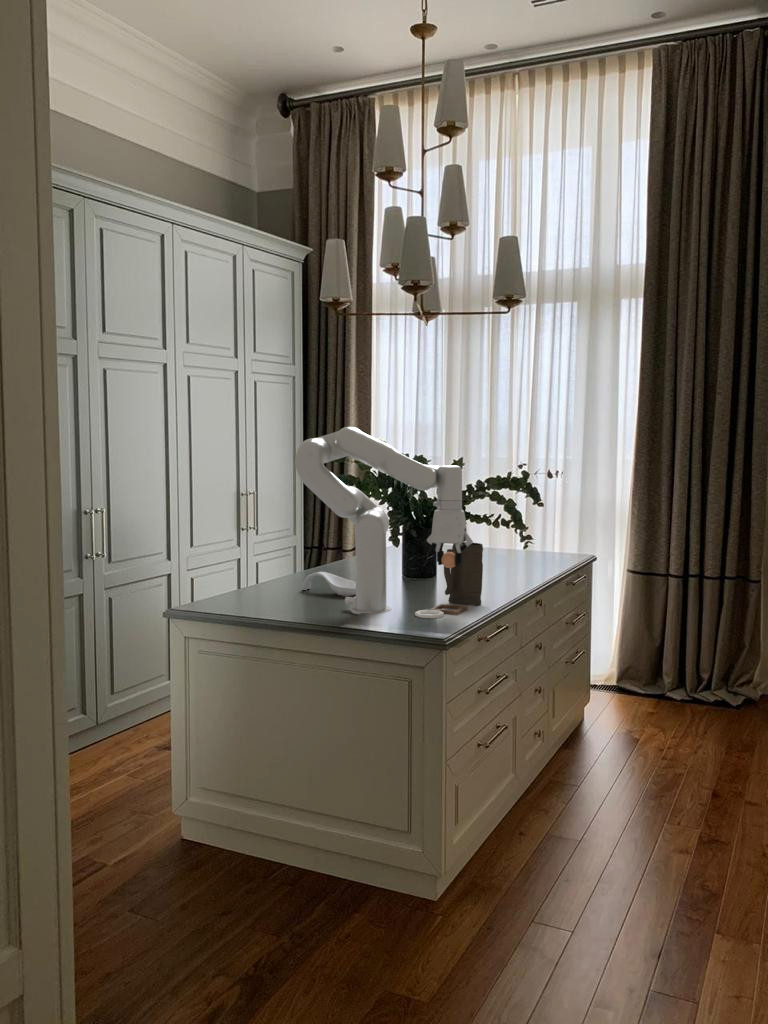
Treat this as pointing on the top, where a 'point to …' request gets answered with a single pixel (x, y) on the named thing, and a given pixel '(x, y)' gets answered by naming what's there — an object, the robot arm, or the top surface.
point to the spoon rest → (333, 583)
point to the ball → (448, 559)
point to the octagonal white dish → (429, 613)
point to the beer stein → (465, 576)
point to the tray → (457, 612)
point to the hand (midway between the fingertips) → (449, 564)
